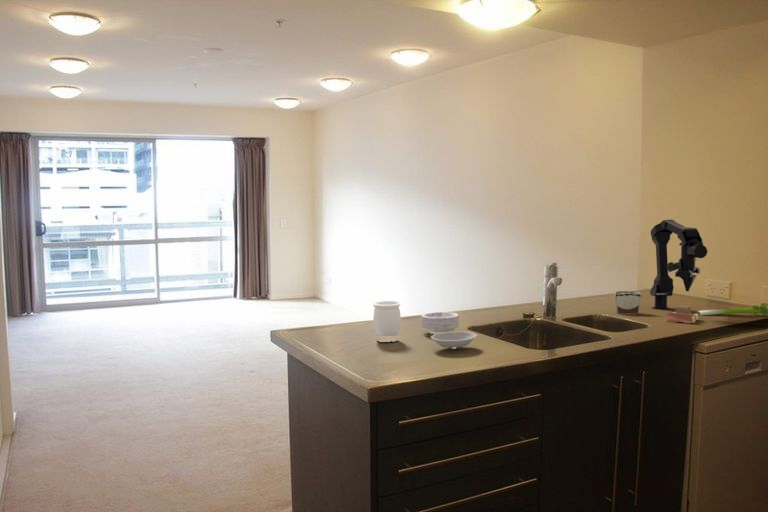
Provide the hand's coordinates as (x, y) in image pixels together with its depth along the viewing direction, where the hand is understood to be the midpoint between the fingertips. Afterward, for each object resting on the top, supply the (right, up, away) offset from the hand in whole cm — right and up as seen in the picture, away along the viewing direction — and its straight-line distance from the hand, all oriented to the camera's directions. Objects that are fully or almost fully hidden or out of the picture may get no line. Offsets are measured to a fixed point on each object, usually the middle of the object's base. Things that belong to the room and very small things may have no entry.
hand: (687, 291), depth 273 cm
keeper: (-4, -12, -5) cm, 14 cm away
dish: (-110, -19, -50) cm, 122 cm away
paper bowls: (-112, -16, -22) cm, 116 cm away
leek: (+23, -12, +3) cm, 26 cm away
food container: (-22, -11, +15) cm, 29 cm away
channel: (-5, -12, -6) cm, 15 cm away
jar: (-134, -18, -34) cm, 139 cm away
